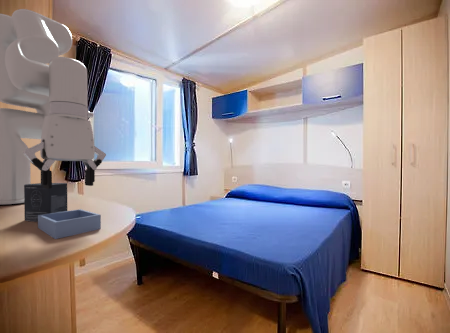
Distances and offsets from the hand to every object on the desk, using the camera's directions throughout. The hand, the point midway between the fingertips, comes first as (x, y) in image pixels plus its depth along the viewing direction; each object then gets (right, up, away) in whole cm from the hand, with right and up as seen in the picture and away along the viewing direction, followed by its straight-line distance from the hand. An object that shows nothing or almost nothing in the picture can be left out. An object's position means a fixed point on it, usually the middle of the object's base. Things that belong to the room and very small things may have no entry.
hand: (69, 186), depth 55 cm
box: (-11, -11, +7) cm, 17 cm away
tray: (0, -10, 0) cm, 10 cm away
